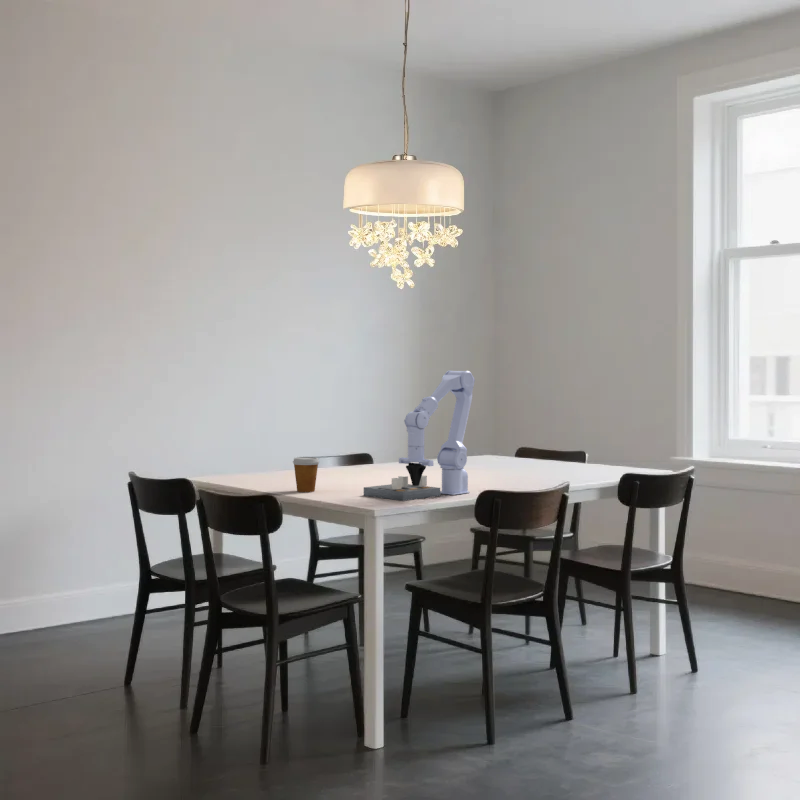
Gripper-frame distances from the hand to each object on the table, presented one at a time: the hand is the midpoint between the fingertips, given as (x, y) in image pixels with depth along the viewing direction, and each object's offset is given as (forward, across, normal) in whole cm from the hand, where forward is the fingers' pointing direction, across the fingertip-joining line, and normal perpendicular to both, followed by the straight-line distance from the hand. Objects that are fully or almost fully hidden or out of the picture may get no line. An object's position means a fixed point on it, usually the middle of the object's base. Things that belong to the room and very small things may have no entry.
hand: (415, 485), depth 360 cm
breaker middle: (+1, -6, 0) cm, 6 cm away
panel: (+4, -6, 0) cm, 8 cm away
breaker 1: (+1, -3, -7) cm, 7 cm away
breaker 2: (+1, -3, +7) cm, 7 cm away
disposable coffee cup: (+4, -39, -16) cm, 42 cm away
